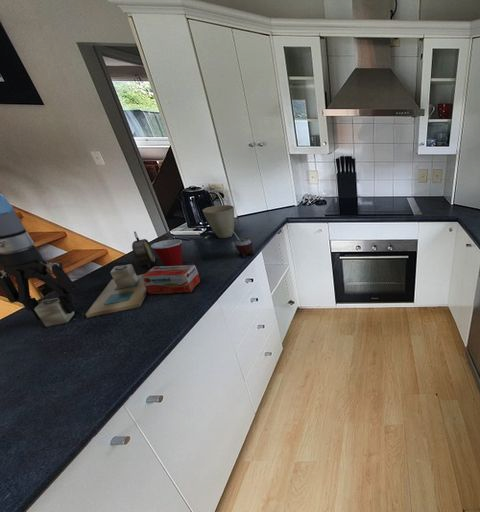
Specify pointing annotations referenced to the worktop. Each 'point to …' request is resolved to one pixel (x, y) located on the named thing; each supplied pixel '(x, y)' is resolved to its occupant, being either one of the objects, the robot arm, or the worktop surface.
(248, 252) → the mate gourd
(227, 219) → the plant pot
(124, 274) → the tile
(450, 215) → the worktop surface
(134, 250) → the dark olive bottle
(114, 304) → the beige flat board
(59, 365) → the worktop surface
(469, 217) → the worktop surface
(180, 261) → the plastic cup
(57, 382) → the worktop surface
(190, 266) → the medicine box
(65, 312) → the tile
